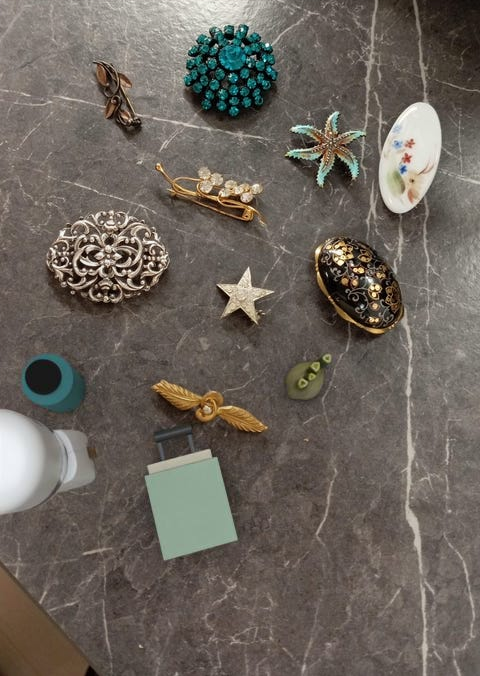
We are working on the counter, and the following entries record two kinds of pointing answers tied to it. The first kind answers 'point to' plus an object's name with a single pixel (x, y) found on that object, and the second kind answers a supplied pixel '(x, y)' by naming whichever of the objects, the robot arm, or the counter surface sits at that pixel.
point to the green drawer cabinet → (190, 508)
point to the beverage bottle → (53, 383)
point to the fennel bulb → (306, 378)
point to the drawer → (178, 461)
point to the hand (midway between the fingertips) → (50, 467)
